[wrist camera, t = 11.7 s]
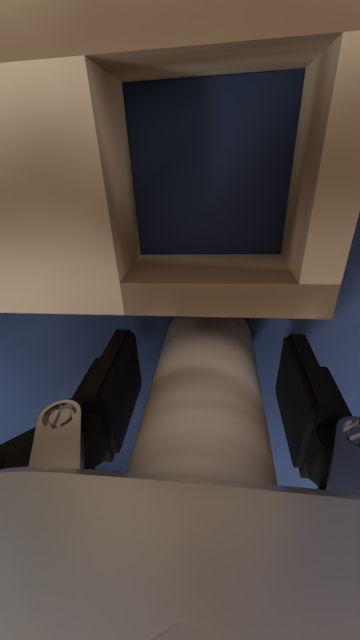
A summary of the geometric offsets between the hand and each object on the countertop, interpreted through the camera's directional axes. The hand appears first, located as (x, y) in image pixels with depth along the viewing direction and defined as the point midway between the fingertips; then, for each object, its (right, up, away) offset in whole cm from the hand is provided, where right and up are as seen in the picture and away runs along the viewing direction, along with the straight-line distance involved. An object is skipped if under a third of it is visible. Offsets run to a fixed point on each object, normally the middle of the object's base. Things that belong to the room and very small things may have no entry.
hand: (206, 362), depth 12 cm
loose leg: (0, +1, +1) cm, 2 cm away
